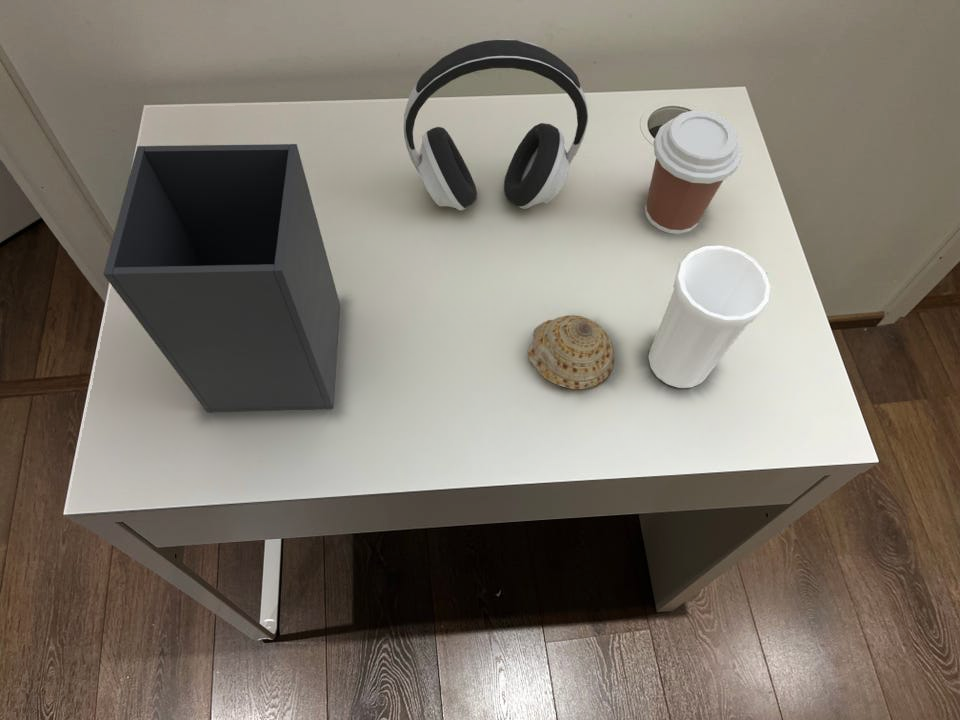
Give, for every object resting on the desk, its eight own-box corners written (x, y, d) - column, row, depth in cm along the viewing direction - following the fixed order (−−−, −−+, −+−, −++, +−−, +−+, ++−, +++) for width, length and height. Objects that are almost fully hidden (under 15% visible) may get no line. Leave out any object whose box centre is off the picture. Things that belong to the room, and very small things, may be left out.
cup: (622, 355, 72) (656, 273, 60) (677, 316, 75) (721, 229, 62) (678, 413, 69) (726, 338, 56) (734, 370, 72) (792, 289, 59)
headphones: (411, 227, 79) (397, 80, 62) (408, 172, 84) (395, 20, 66) (577, 219, 81) (610, 72, 63) (567, 165, 85) (594, 14, 67)
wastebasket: (206, 412, 68) (102, 274, 48) (223, 307, 74) (137, 145, 54) (333, 408, 68) (282, 270, 49) (340, 304, 74) (296, 143, 54)
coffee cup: (617, 201, 82) (641, 121, 72) (678, 172, 85) (709, 91, 74) (665, 254, 78) (697, 178, 68) (727, 223, 81) (767, 145, 70)
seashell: (515, 322, 71) (588, 290, 69) (531, 343, 76) (600, 314, 74) (538, 392, 67) (616, 360, 65) (554, 410, 72) (627, 381, 70)
